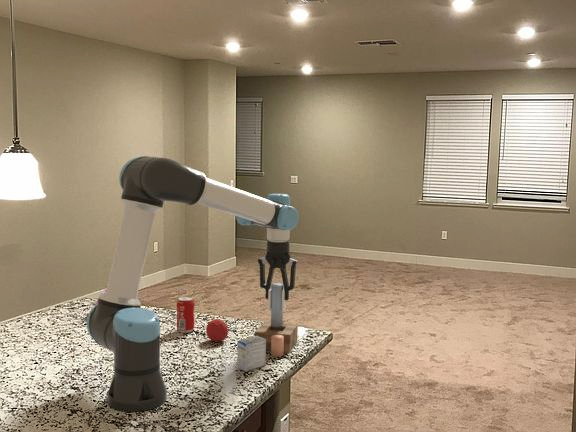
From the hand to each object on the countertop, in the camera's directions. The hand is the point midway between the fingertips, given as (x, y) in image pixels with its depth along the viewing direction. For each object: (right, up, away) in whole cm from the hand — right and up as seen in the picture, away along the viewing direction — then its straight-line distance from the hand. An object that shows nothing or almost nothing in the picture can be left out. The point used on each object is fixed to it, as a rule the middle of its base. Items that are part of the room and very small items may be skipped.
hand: (276, 308), depth 210 cm
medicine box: (-7, -15, -19) cm, 26 cm away
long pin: (0, -6, +1) cm, 6 cm away
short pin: (0, -14, -8) cm, 16 cm away
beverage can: (-33, -10, +16) cm, 38 cm away
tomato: (-20, -12, +5) cm, 24 cm away
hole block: (0, -13, +1) cm, 13 cm away
